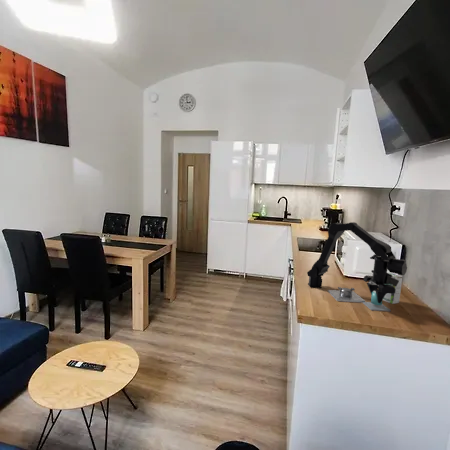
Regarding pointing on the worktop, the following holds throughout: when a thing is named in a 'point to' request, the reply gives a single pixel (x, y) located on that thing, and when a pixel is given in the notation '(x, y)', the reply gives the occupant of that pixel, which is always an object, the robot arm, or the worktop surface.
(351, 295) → the grey square plate
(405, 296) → the worktop surface
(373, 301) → the teal cylinder
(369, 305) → the coaster
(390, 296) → the syrup box
